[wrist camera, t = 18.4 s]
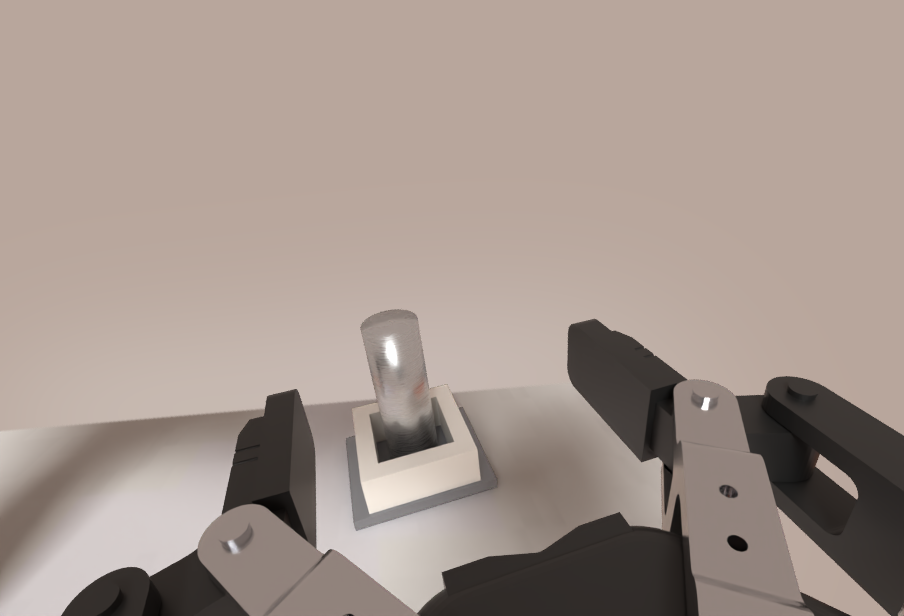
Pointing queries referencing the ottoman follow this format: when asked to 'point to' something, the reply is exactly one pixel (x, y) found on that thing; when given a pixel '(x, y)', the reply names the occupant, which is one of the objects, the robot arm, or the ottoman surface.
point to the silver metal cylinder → (400, 381)
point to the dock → (414, 465)
